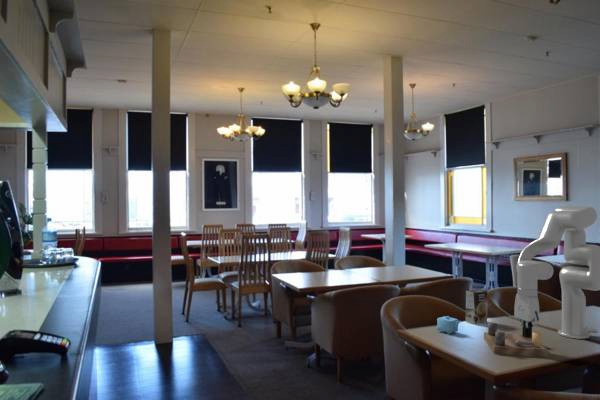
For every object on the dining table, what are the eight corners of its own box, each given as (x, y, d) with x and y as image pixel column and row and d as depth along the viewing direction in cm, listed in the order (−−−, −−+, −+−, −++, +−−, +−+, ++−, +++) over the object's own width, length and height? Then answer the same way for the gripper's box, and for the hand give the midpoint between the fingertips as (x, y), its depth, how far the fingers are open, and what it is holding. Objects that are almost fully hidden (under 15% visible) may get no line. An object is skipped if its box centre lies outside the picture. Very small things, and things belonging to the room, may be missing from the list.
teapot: (464, 334, 209) (464, 318, 209) (457, 337, 205) (457, 320, 205) (441, 328, 218) (441, 313, 219) (434, 331, 215) (434, 315, 215)
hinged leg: (516, 345, 182) (516, 332, 182) (514, 342, 186) (514, 330, 186) (543, 347, 180) (543, 334, 180) (540, 344, 183) (541, 332, 183)
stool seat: (532, 341, 198) (532, 323, 198) (547, 357, 179) (547, 337, 179) (483, 338, 202) (484, 321, 202) (493, 353, 183) (494, 334, 183)
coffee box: (475, 324, 225) (475, 292, 225) (465, 321, 231) (465, 290, 231) (487, 322, 230) (488, 291, 230) (477, 319, 235) (477, 288, 235)
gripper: (507, 289, 195) (507, 331, 195) (532, 296, 180) (532, 342, 180) (522, 288, 196) (522, 330, 196) (548, 295, 182) (548, 341, 182)
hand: (527, 336), depth 188 cm, fingers closed
